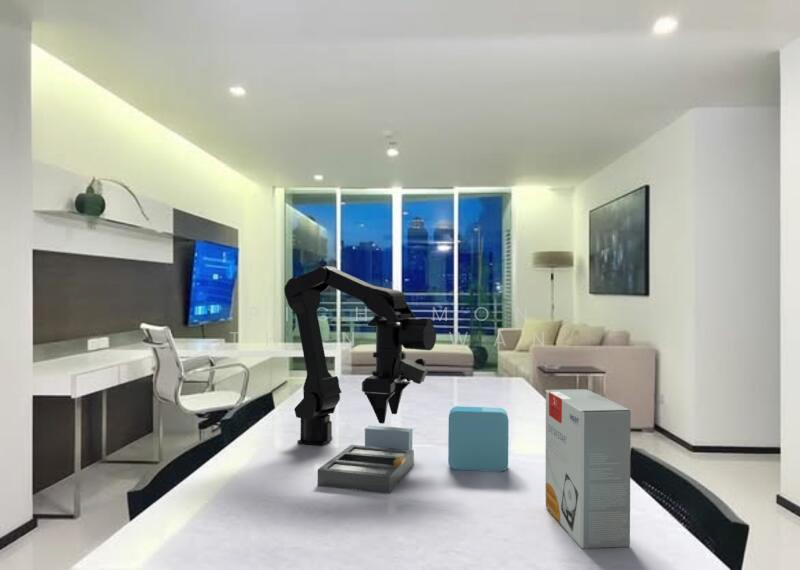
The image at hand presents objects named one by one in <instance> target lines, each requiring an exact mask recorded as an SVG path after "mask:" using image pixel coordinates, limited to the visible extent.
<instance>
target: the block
mask: <svg viewBox="0 0 800 570" xmlns="http://www.w3.org/2000/svg"><path fill="white" fill-rule="evenodd" d="M364 446H371V447H383V448H394V449H405V450H413V428H409V427H396V426H382V425H371V424H370V425H368V426H366V427H365V428H364Z"/></svg>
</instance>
